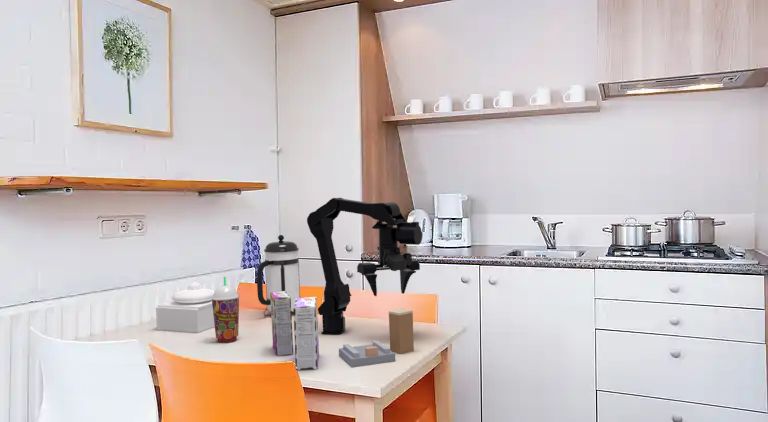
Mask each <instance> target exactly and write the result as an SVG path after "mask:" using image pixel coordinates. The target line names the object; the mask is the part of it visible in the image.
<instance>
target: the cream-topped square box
mask: <svg viewBox="0 0 768 422" xmlns="http://www.w3.org/2000/svg"><path fill="white" fill-rule="evenodd" d="M413 313H414V312H413V310H411V309H406V308H398V309H393V310H389V311H388V328H389V329H388V331H389V332H388V333H389V348H390V351H392V352H393V353H395V354H398V355H402V354H406V353H410V352H414V351H415V349H414V348H415V345H414V343H415V342H414V319H413V318H414V314H413Z"/></svg>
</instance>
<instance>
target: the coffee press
mask: <svg viewBox="0 0 768 422" xmlns="http://www.w3.org/2000/svg"><path fill="white" fill-rule="evenodd" d="M284 239H285V236H284V235H282V234H279V235H278V236H277V240H278V241H272V242H270V243H268V244H267V245H266V246H265V248H264V249H263V252H264V254H265V255H264V257H265V258H264V261H262V262H261V263H260V264H259V265H258V267H257V270H256V289H257V290H256V291H257V299H258V301H259V303H260V304H261V305H264V306H267V307H266V309H265V310H264V311H263V315H264V316H268V315H269V314H270V313H271V300H270V293H271V292H279V291H280V292H281V291H286V292H287V293H288V295H289V296H290V297H291V313H292V312H293V313H294V305H295V301H296V298H300V296H301V289H300V288H301V287H300V272H299V271H300V262H299V260H300V259H299V258H300V257H298V256H299V255H298V253H299V247H298V245H297V244H296V243H295V242H294V241H290V240H289V241H285V240H284ZM264 269H265V283H266V286H265V291H266V295H265V296H266V299H265V298H264V288H263V287H264V286H263V273H264ZM267 310H268V311H269V312H268V313H267V314H265V313H266V311H267Z"/></svg>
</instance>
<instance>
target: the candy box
mask: <svg viewBox="0 0 768 422" xmlns="http://www.w3.org/2000/svg"><path fill="white" fill-rule="evenodd" d="M318 320H319V319H318V300H317V296H306V297H299V298H296V301H295V305H294V311H293V326H294V327H293V328H294V331H293V333H294V335H293V336H294V358H295V359H294V361H295V364H296V365H295V368H296V367H297V369H298V370H297V371H307V370H308V371H309V370H310V371H311V370H314V371H315V370H318V368H319V357H320V351H319V350H320V349H319V348H320V347H319V346H320V344H319V324H318V323H319V321H318Z"/></svg>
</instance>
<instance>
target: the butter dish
mask: <svg viewBox="0 0 768 422" xmlns="http://www.w3.org/2000/svg"><path fill="white" fill-rule="evenodd" d="M215 291H216V290H213V289H211V288H206V287H205V288H204V287H202V285H201V283H199V282H197V281H192V282H190V283H189V284H188V285H187V288H186V289H182V290H179V291H177V292H175V293H173V294H172V296H171V301H167V302H165V303H159V304H157V305H156V307H155V317H156V331H159V332H172V333H184V334H185V333H188V334H199V333H200V334H201V333H203V332H206V331H209V330H212V329H215V325H214V315H213V306H212V299H211V298H212V297H213V294H214V292H215Z"/></svg>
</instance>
